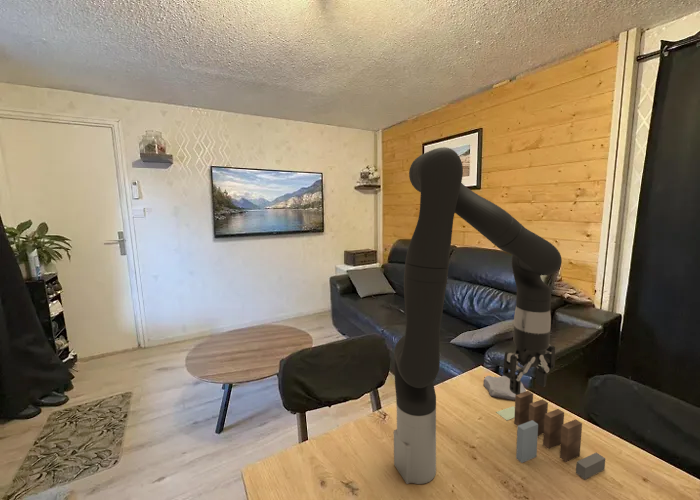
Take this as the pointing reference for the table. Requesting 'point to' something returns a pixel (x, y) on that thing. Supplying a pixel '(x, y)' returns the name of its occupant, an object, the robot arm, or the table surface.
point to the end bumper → (590, 465)
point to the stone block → (500, 387)
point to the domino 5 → (570, 440)
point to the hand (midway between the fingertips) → (528, 388)
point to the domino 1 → (522, 407)
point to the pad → (507, 413)
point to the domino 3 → (538, 414)
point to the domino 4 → (553, 428)
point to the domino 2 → (527, 441)
